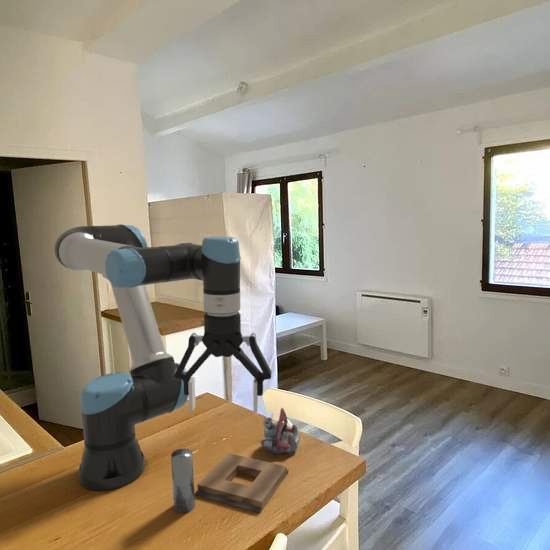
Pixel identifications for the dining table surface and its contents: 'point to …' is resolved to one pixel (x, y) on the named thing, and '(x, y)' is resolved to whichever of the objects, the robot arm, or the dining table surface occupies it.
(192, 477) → the steel cylinder rod
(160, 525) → the dining table surface
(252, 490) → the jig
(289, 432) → the red and grey figurine
